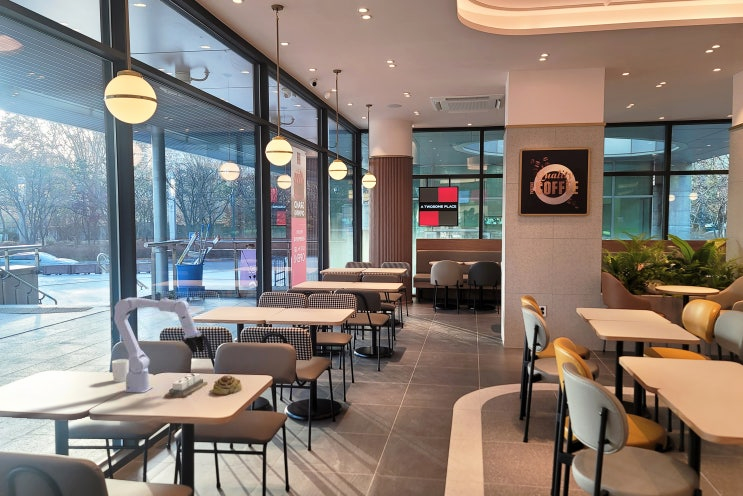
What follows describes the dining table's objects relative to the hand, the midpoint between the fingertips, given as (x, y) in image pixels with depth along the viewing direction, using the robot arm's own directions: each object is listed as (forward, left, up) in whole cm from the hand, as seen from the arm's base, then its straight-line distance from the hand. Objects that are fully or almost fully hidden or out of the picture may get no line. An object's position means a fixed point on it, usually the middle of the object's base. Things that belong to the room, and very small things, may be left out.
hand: (198, 351), depth 251 cm
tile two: (-5, -3, -15) cm, 16 cm away
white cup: (-47, +8, -18) cm, 51 cm away
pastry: (+15, -1, -18) cm, 23 cm away
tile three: (-5, +3, -15) cm, 16 cm away
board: (-5, -3, -18) cm, 19 cm away
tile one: (-5, -9, -15) cm, 18 cm away
